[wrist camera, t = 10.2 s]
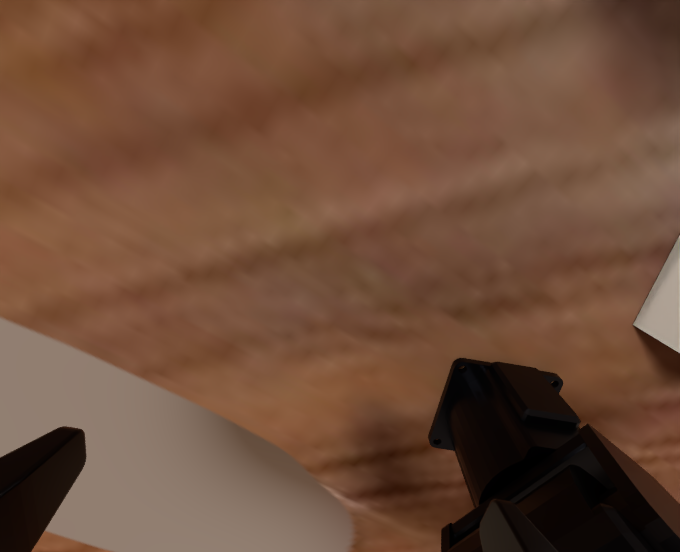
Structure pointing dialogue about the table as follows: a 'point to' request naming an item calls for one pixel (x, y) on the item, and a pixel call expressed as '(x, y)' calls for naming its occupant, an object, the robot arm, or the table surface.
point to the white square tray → (664, 304)
